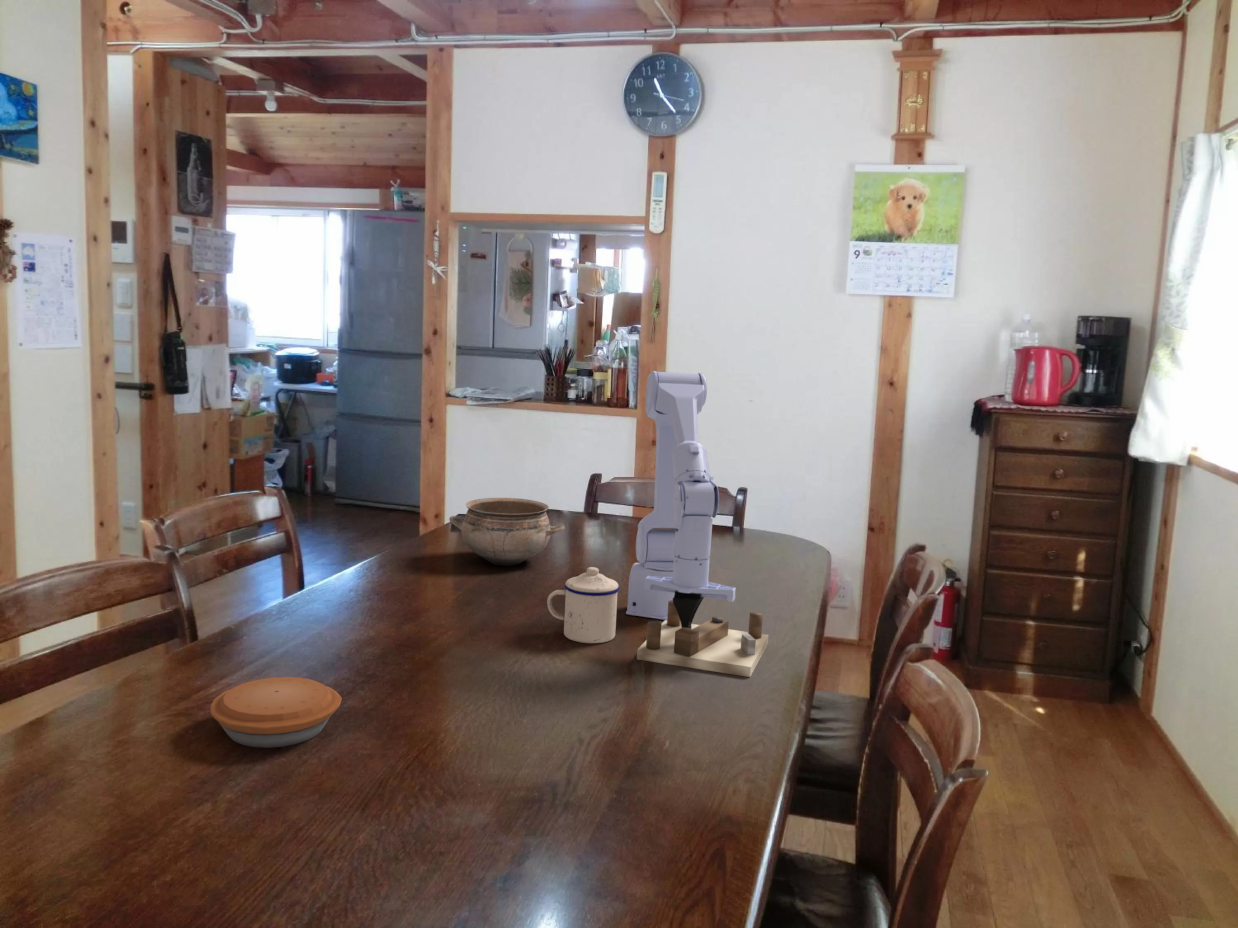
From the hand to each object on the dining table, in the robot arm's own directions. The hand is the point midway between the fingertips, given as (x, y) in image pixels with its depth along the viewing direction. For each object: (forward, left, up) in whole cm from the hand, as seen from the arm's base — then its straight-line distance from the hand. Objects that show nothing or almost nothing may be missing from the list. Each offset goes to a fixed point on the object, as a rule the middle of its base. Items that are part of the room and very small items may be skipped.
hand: (686, 638), depth 162 cm
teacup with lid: (-18, +1, -3) cm, 19 cm away
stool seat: (+3, +2, -3) cm, 4 cm away
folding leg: (+2, +1, -1) cm, 3 cm away
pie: (-40, -51, -3) cm, 65 cm away
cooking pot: (-49, +40, -3) cm, 64 cm away
